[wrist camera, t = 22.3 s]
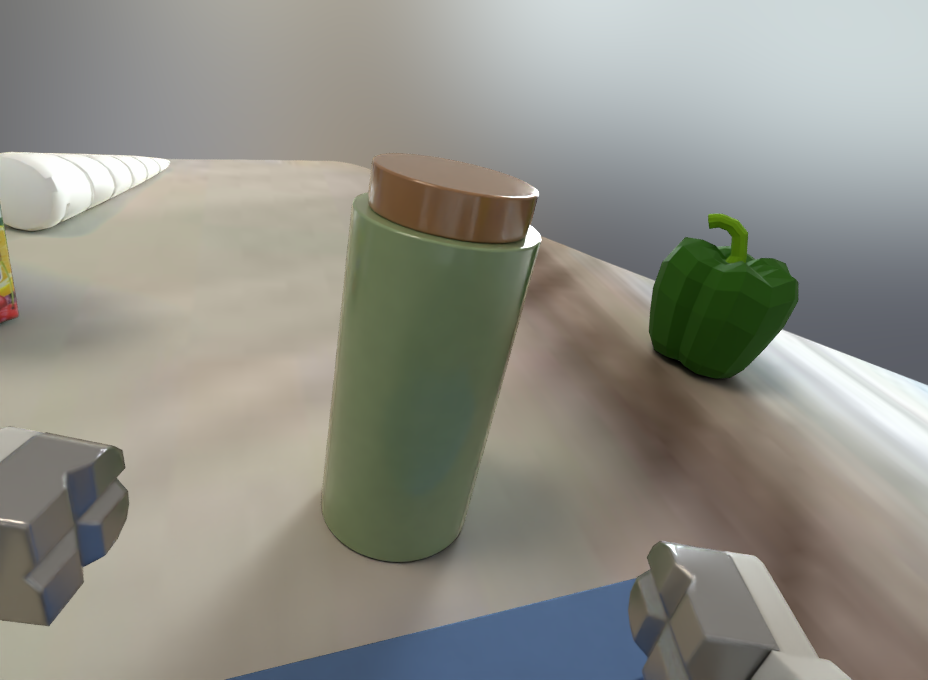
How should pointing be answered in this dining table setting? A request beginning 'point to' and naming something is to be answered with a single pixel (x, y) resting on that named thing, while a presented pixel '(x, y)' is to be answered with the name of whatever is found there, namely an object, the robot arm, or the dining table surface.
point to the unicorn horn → (65, 184)
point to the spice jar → (422, 348)
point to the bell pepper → (719, 303)
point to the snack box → (6, 280)
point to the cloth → (498, 646)
